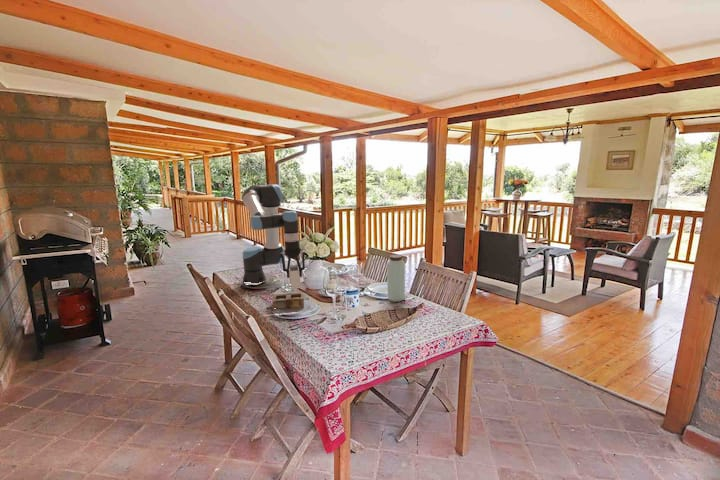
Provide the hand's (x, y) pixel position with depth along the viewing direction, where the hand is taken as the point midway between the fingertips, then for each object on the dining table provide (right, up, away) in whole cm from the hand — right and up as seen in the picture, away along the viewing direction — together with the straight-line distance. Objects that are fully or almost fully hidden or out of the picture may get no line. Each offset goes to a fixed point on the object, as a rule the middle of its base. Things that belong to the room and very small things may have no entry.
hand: (295, 282), depth 191 cm
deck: (-1, -11, +14) cm, 18 cm away
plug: (0, -3, +1) cm, 3 cm away
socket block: (-4, -13, +3) cm, 14 cm away
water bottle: (+55, -10, +9) cm, 57 cm away
